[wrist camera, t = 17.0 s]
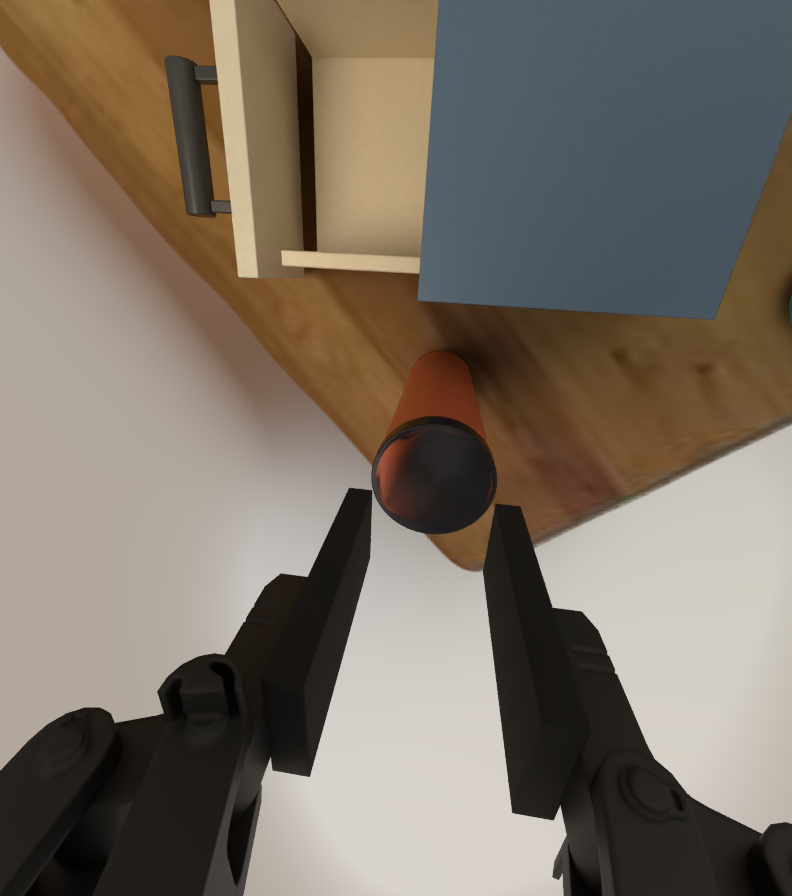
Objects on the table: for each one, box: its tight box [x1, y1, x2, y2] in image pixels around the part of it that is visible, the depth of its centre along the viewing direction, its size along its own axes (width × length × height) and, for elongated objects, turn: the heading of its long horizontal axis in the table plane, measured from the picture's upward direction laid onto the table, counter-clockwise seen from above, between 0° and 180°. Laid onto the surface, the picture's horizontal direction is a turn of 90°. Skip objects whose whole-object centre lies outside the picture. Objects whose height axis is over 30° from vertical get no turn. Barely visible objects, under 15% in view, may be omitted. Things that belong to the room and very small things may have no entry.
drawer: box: [165, 0, 439, 278], centre depth 22 cm, size 18×13×8 cm
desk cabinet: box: [417, 0, 792, 320], centre depth 21 cm, size 15×15×10 cm
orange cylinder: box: [372, 351, 497, 534], centre depth 24 cm, size 5×5×17 cm
